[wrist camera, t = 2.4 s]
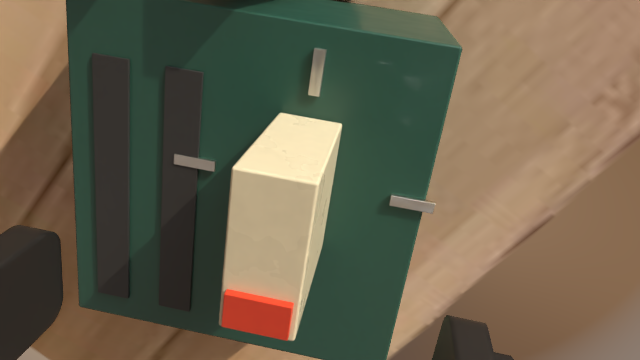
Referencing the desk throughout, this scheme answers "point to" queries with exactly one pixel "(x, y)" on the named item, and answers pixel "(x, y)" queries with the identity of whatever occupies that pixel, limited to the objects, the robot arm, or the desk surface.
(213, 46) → the toaster
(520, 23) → the desk surface
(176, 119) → the toaster slots
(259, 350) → the desk surface
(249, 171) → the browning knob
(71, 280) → the desk surface
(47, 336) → the desk surface
